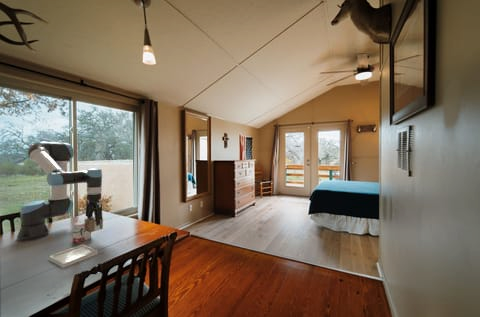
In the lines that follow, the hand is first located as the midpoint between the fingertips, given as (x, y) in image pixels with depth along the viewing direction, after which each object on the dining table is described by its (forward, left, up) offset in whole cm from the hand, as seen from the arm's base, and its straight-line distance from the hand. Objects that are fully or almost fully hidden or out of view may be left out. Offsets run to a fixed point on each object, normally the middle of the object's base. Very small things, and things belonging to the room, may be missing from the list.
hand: (93, 228), depth 126 cm
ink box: (-12, -1, -10) cm, 15 cm away
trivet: (+9, -14, -9) cm, 19 cm away
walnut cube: (0, 0, 0) cm, 0 cm away
